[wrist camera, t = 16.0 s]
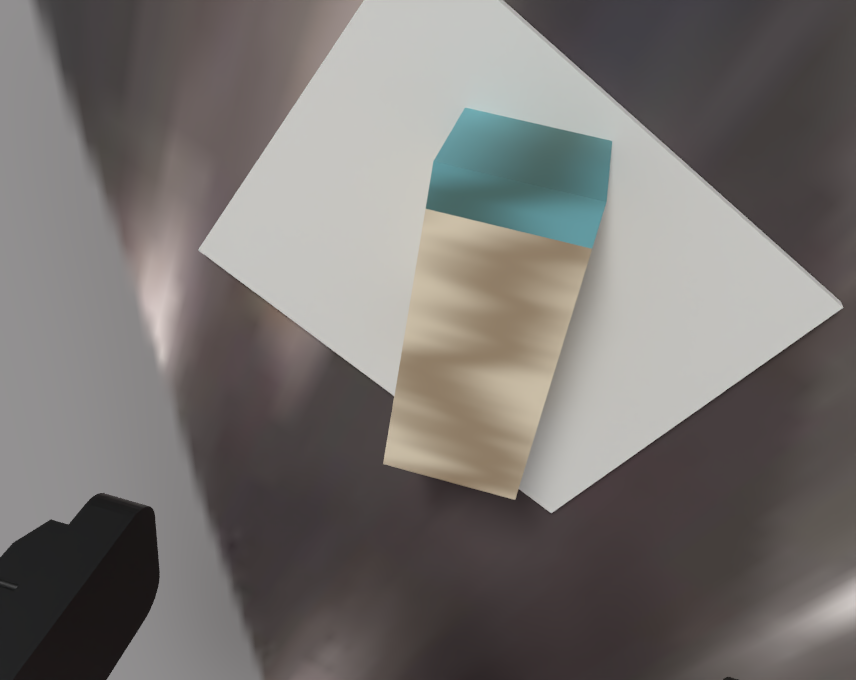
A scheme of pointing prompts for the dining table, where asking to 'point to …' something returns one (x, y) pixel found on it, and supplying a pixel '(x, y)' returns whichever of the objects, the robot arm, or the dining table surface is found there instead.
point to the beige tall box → (493, 296)
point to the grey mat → (609, 260)
